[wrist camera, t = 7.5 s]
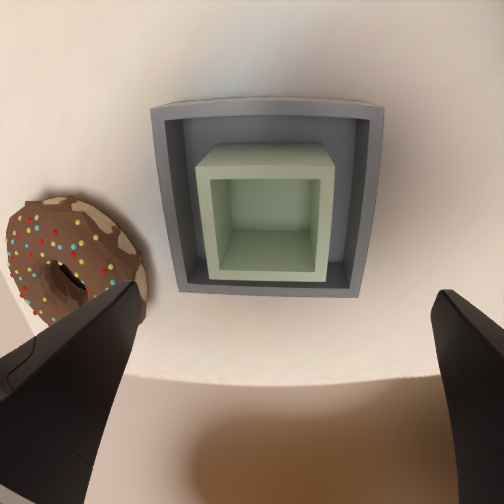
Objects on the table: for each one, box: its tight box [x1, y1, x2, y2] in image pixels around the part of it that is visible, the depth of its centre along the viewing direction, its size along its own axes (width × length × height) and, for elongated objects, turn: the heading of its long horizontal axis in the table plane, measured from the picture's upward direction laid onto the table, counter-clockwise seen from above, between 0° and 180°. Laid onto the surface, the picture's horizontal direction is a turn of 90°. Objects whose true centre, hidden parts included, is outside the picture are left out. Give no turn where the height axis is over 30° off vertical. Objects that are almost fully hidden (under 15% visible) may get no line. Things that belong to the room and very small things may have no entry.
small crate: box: [195, 142, 335, 282], centre depth 16 cm, size 6×6×5 cm
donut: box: [5, 196, 147, 327], centre depth 22 cm, size 14×14×5 cm
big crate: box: [150, 97, 384, 298], centre depth 18 cm, size 11×11×4 cm
